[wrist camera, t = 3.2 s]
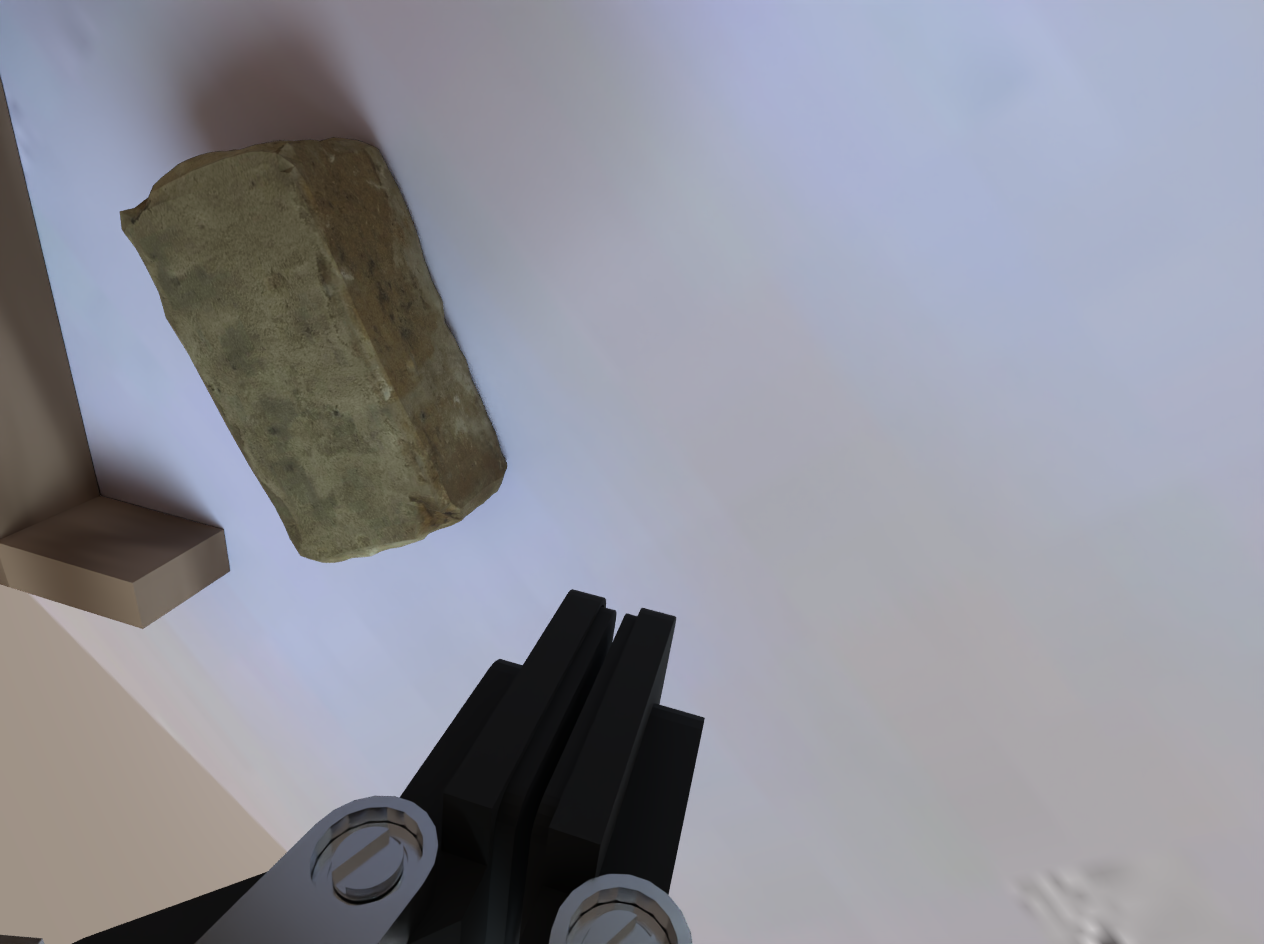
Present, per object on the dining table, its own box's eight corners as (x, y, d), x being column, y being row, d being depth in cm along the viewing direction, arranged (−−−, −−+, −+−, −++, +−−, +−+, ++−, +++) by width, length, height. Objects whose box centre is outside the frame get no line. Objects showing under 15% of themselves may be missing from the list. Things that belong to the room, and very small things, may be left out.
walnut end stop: (127, -101, 18) (-41, -169, 15) (229, 571, 28) (142, 629, 24) (-126, -123, 20) (-333, -189, 16) (53, 520, 29) (-53, 567, 26)
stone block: (392, 510, 25) (297, 582, 20) (236, 188, 21) (80, 189, 17) (527, 477, 22) (455, 549, 18) (379, 115, 19) (245, 93, 15)
